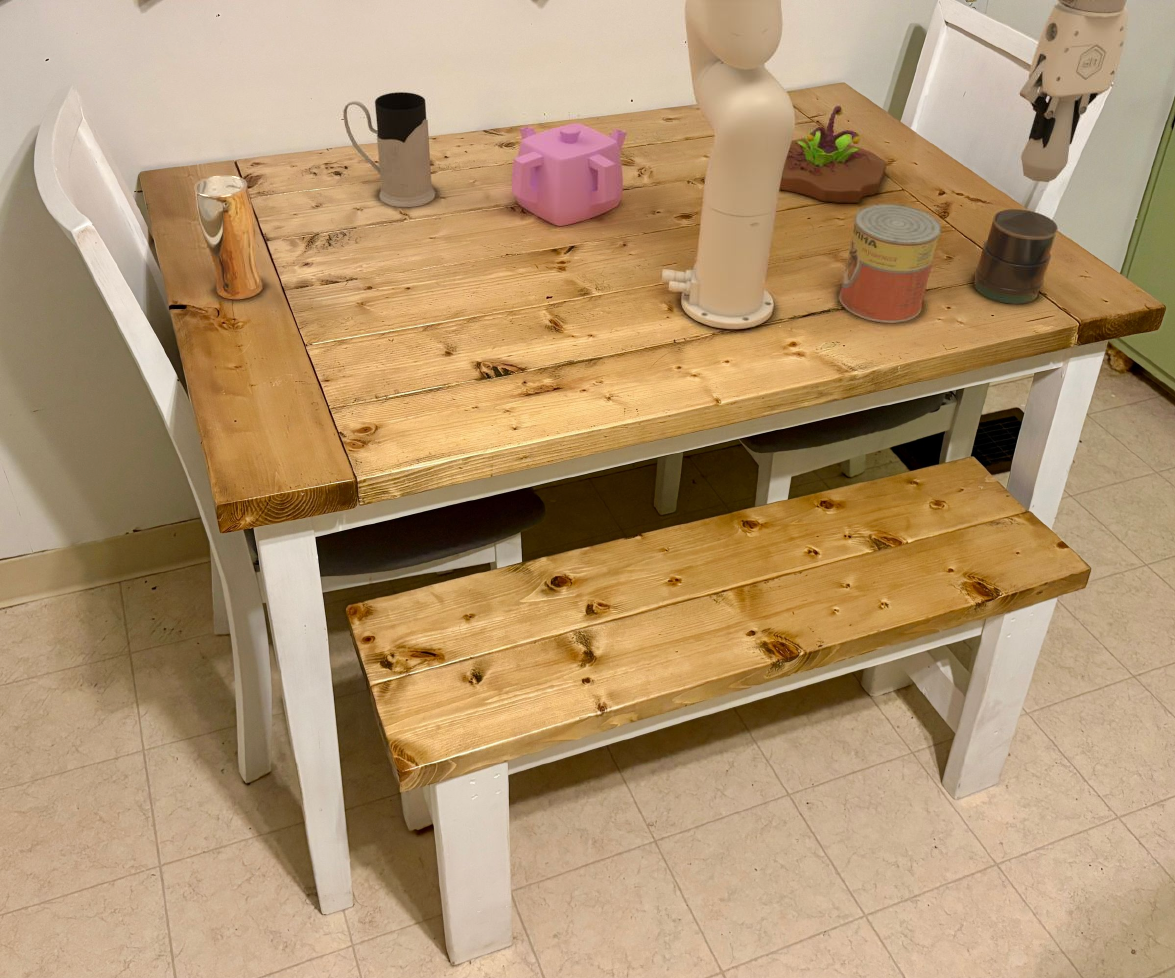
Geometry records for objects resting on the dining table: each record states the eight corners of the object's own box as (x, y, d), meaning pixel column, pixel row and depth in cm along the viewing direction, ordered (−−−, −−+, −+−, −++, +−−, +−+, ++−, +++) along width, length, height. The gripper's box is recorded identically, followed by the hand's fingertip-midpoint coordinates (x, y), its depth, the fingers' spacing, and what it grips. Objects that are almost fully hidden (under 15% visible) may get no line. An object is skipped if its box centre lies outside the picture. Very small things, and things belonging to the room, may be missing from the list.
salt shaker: (1064, 187, 148) (1095, 88, 139) (1018, 182, 148) (1047, 83, 140) (1058, 169, 152) (1088, 72, 144) (1015, 164, 153) (1042, 68, 145)
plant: (900, 170, 191) (915, 105, 184) (857, 212, 178) (870, 144, 171) (793, 142, 199) (803, 79, 192) (744, 180, 186) (752, 113, 179)
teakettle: (509, 225, 171) (508, 147, 163) (520, 178, 184) (519, 103, 176) (621, 231, 171) (625, 153, 163) (623, 183, 184) (628, 109, 176)
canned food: (834, 280, 161) (849, 202, 153) (912, 283, 161) (931, 205, 153) (845, 321, 152) (861, 240, 145) (928, 324, 152) (949, 244, 145)
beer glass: (239, 306, 150) (219, 202, 140) (202, 291, 153) (180, 187, 143) (276, 285, 155) (260, 182, 145) (240, 271, 157) (221, 169, 148)
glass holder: (420, 211, 174) (413, 115, 164) (338, 195, 177) (327, 101, 167) (444, 188, 180) (439, 95, 171) (364, 174, 183) (355, 82, 174)
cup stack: (975, 301, 158) (994, 234, 151) (968, 269, 165) (986, 204, 158) (1044, 308, 157) (1066, 242, 150) (1034, 276, 164) (1055, 211, 157)
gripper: (1057, 10, 131) (1014, 161, 142) (1169, -1, 135) (1119, 147, 147) (1018, -9, 136) (979, 138, 148) (1127, -18, 141) (1081, 125, 152)
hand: (1049, 141), depth 147 cm, fingers closed on salt shaker, 3 cm apart
